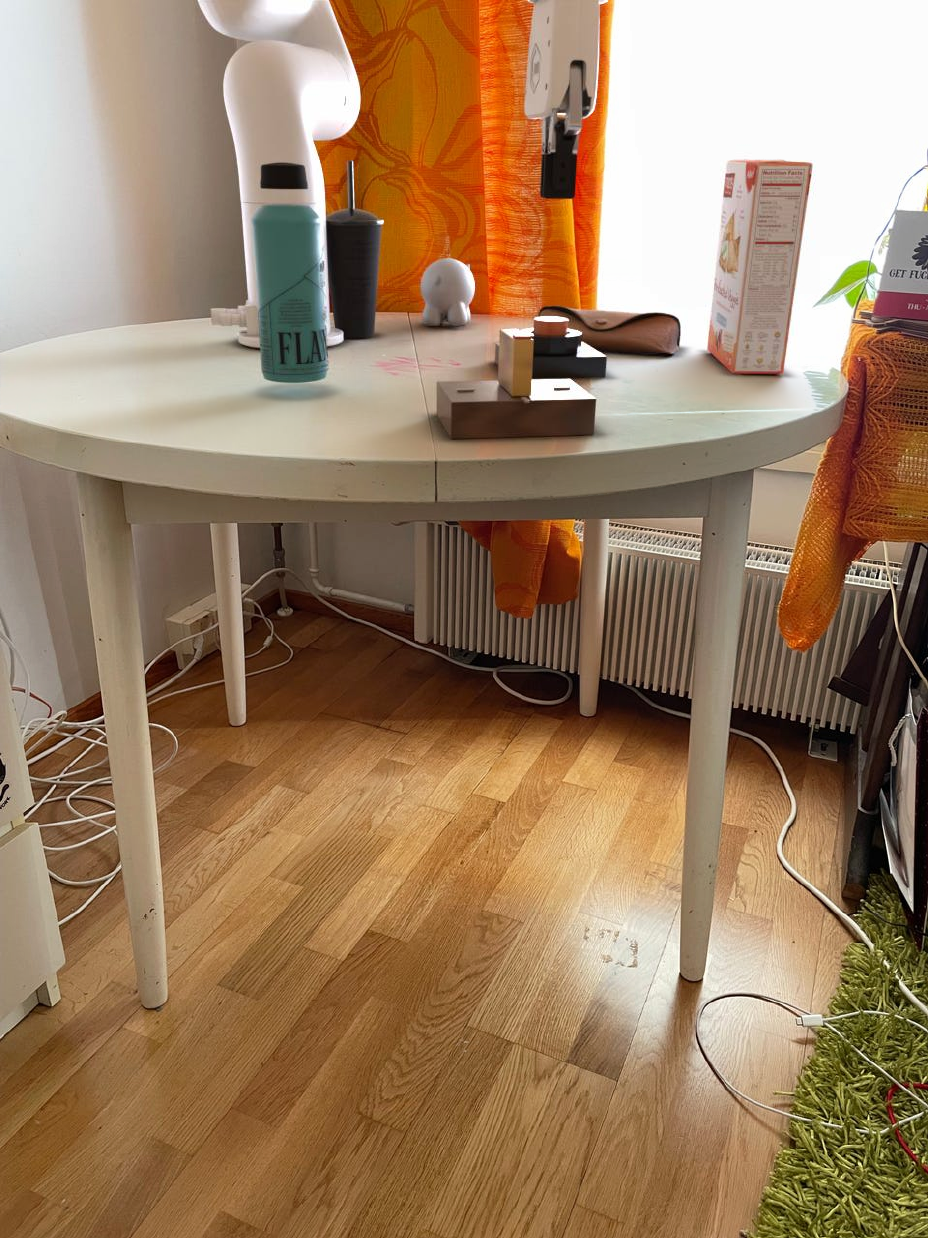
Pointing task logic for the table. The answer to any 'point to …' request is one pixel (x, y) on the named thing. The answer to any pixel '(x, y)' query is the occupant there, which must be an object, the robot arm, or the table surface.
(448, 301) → the round bodied animal figurine
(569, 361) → the block
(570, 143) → the robot arm
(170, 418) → the table surface
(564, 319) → the bell button
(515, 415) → the brown wooden base
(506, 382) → the tan cardboard box
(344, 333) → the drinking cup
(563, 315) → the sunglasses case
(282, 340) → the beverage bottle
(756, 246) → the cracker box
